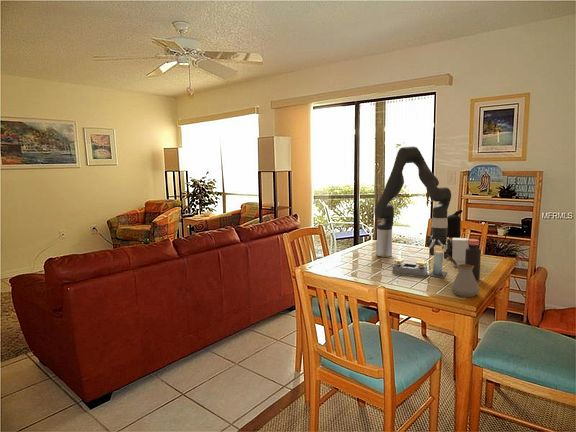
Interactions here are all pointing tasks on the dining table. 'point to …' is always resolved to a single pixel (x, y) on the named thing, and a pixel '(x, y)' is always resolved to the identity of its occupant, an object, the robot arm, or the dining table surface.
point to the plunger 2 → (421, 263)
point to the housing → (409, 269)
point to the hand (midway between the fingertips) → (438, 256)
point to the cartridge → (438, 263)
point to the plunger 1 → (398, 261)
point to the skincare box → (459, 250)
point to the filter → (454, 226)
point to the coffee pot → (464, 280)
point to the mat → (438, 275)
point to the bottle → (473, 257)
